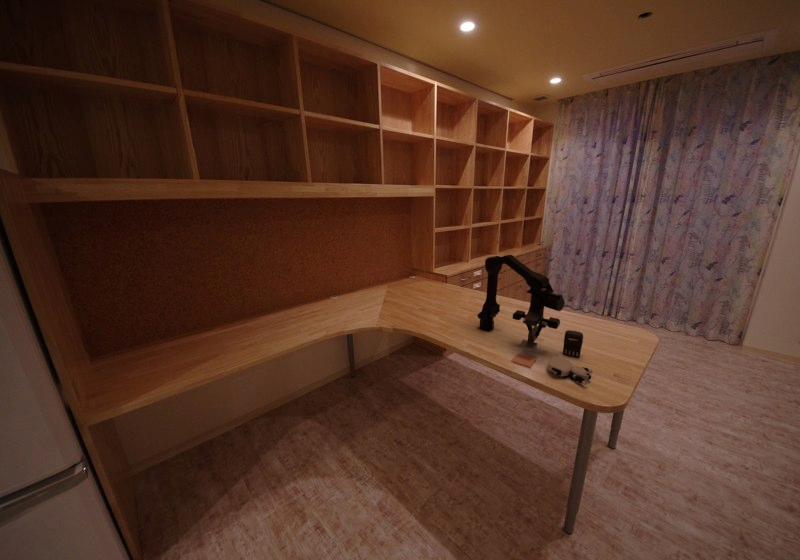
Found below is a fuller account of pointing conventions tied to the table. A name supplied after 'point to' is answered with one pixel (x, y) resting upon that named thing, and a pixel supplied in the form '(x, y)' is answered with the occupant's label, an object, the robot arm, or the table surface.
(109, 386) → the table surface
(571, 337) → the battery charger
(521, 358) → the tile
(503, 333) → the table surface
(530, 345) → the turner
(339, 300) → the table surface
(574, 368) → the robot toy
